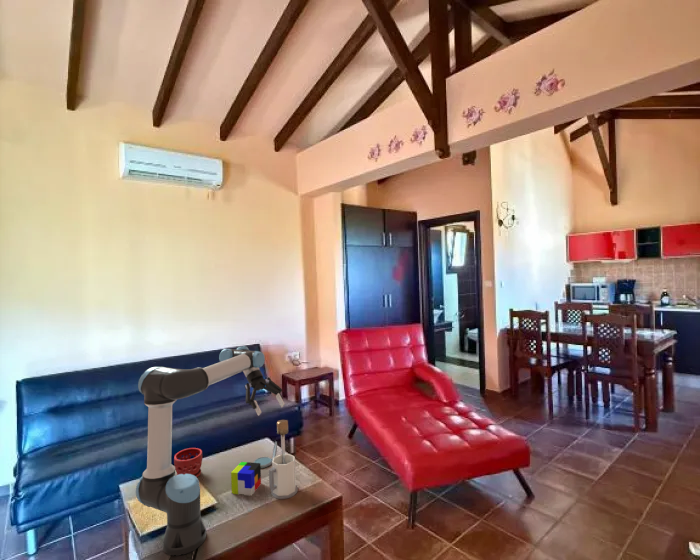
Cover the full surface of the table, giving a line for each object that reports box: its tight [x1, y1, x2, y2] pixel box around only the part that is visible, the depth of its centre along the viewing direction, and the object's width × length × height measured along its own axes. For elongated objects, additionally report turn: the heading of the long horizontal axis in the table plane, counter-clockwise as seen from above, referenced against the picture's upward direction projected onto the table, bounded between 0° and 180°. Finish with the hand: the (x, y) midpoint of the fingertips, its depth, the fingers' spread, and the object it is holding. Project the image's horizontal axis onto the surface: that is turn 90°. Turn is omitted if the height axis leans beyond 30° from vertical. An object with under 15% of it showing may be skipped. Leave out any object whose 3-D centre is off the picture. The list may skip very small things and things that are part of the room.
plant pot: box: [173, 447, 203, 478], centre depth 190 cm, size 13×13×12 cm
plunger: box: [276, 419, 289, 464], centre depth 174 cm, size 8×8×22 cm
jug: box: [268, 453, 299, 500], centre depth 174 cm, size 14×12×15 cm
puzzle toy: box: [230, 461, 262, 496], centre depth 178 cm, size 10×10×10 cm
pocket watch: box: [252, 441, 278, 469], centre depth 201 cm, size 10×11×15 cm
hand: (271, 409), depth 180 cm, fingers open, 13 cm apart
